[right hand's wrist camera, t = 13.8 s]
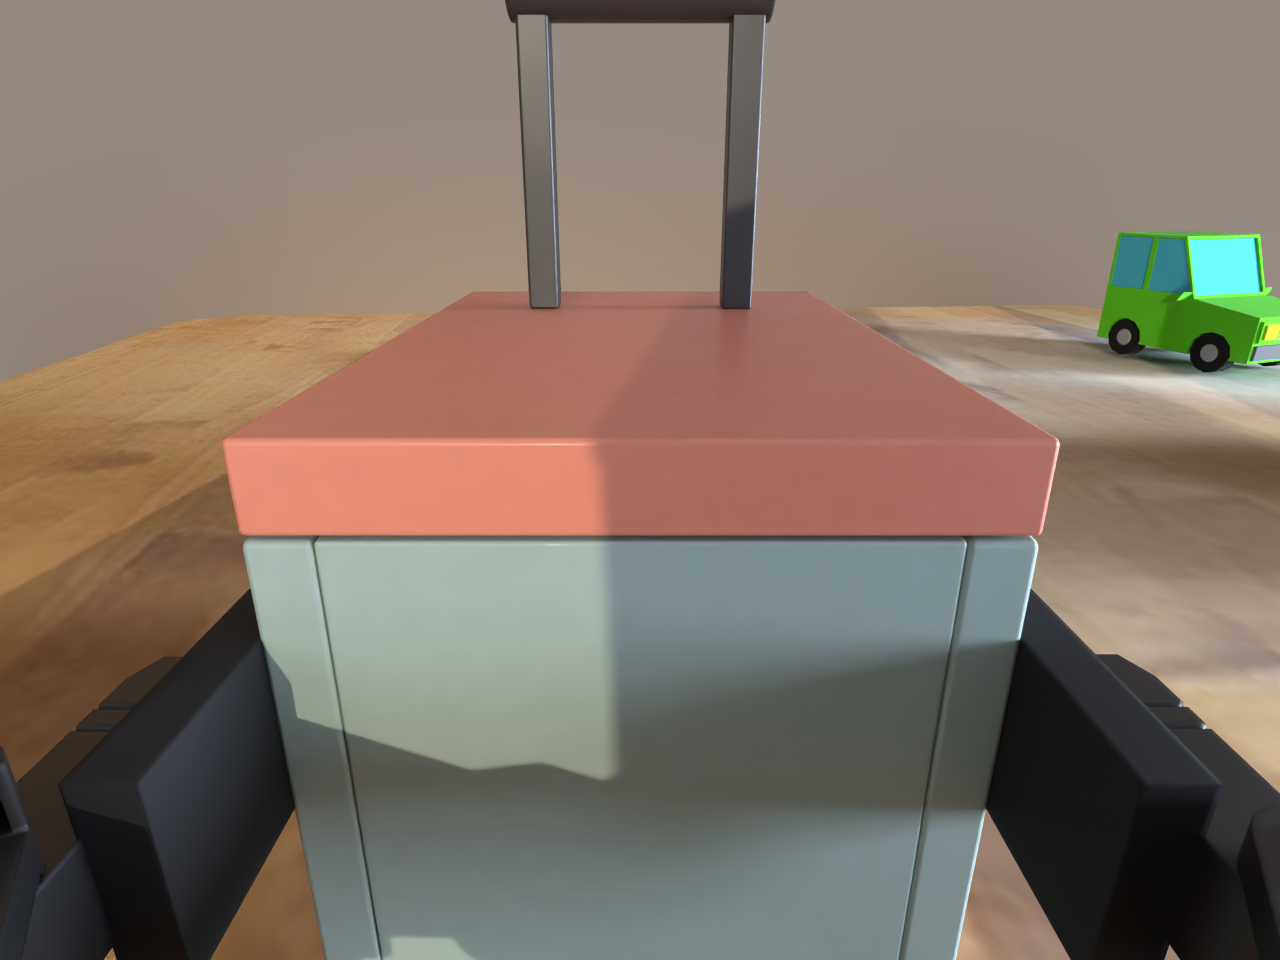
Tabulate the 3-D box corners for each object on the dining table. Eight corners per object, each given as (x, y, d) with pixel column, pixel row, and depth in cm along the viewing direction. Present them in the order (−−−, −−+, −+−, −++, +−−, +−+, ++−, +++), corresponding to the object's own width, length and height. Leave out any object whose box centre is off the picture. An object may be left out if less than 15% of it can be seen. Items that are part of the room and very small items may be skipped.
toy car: (1236, 382, 57) (1275, 241, 53) (1085, 350, 69) (1109, 232, 65) (1328, 372, 60) (1370, 239, 56) (1168, 343, 72) (1196, 230, 68)
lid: (474, 335, 22) (446, -28, 19) (806, 335, 22) (834, -28, 19) (237, 538, 9) (24, -510, 6) (1043, 538, 9) (1258, -511, 6)
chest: (493, 633, 25) (471, 339, 22) (786, 633, 25) (809, 339, 22) (346, 1077, 12) (238, 542, 9) (934, 1077, 12) (1042, 541, 9)
